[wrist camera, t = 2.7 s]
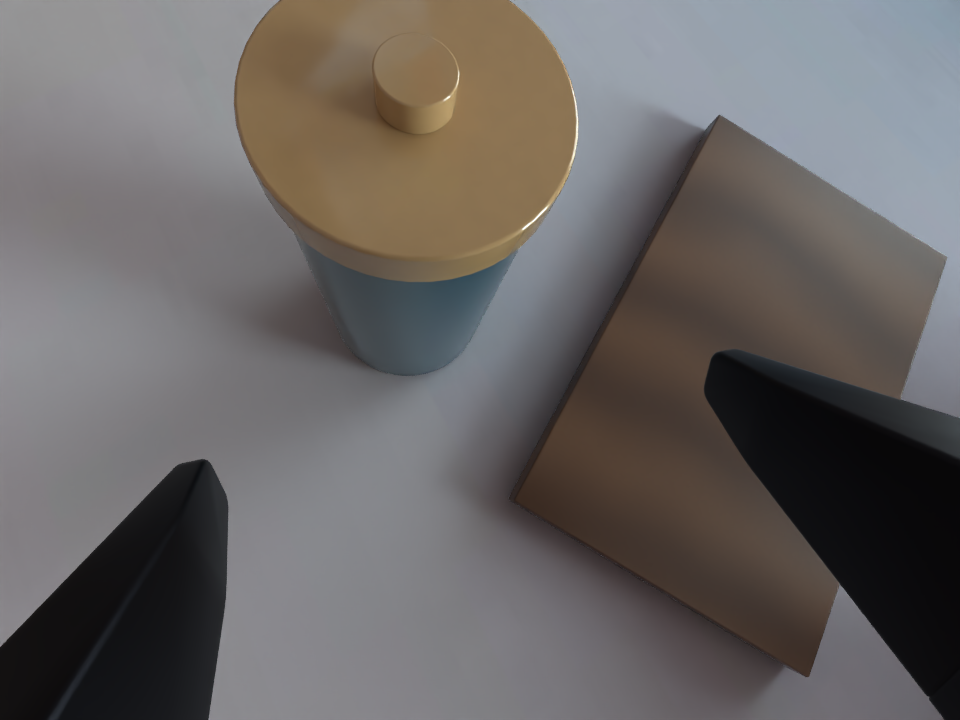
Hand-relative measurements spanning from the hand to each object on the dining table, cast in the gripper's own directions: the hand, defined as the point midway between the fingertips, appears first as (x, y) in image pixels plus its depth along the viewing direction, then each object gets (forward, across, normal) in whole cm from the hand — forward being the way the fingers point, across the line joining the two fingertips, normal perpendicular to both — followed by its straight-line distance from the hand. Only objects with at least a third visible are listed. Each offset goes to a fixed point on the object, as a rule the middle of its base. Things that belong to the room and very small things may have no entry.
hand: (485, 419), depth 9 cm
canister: (+14, 0, +4) cm, 14 cm away
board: (+9, -15, +9) cm, 20 cm away
